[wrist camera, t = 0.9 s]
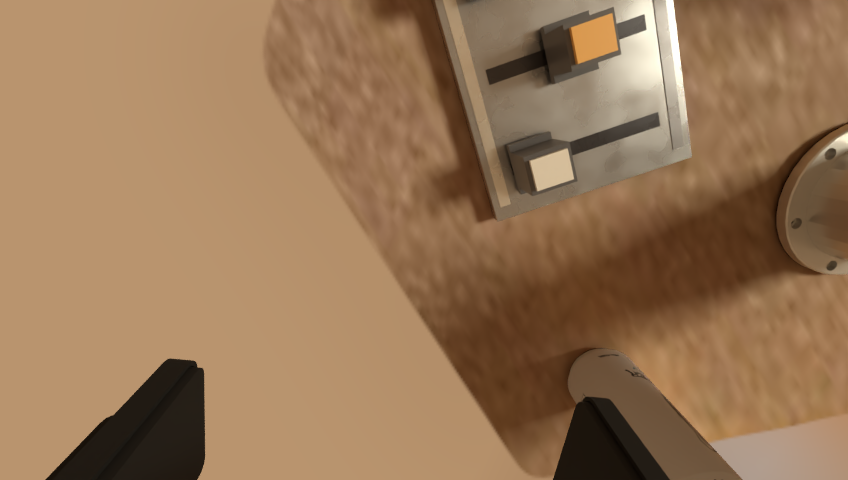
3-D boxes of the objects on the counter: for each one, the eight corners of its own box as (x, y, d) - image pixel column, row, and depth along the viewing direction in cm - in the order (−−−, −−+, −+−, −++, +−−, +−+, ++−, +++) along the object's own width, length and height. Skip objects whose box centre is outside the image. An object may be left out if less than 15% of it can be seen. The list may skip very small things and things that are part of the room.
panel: (641, -157, 25) (653, -171, 24) (681, 155, 31) (692, 157, 30) (411, -72, 25) (411, -81, 24) (494, 217, 32) (497, 221, 30)
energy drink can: (638, 379, 37) (789, 547, 23) (580, 410, 38) (690, 592, 23) (612, 331, 35) (757, 479, 21) (552, 364, 36) (651, 530, 22)
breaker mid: (584, 12, 26) (614, -5, 22) (594, 69, 27) (625, 62, 23) (539, 28, 26) (562, 14, 22) (552, 84, 27) (575, 79, 24)
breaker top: (547, 131, 28) (569, 133, 24) (558, 179, 29) (581, 189, 26) (506, 145, 28) (522, 150, 25) (519, 193, 29) (536, 204, 26)
